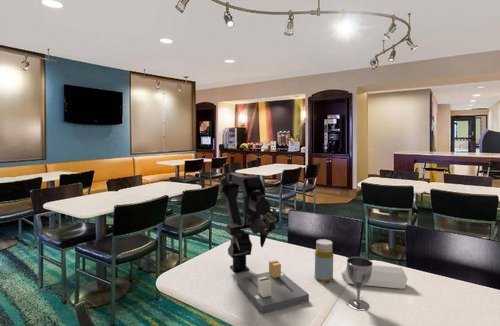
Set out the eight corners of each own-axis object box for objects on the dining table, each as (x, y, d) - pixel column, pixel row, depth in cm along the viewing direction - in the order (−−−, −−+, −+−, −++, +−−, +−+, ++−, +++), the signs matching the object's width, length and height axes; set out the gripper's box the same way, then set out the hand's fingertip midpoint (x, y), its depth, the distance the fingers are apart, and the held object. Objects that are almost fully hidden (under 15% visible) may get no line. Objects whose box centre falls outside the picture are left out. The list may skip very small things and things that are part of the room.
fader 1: (257, 291, 107) (257, 277, 107) (265, 290, 109) (265, 275, 108) (263, 297, 104) (263, 282, 103) (271, 295, 105) (271, 280, 104)
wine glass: (358, 313, 99) (360, 268, 98) (340, 301, 106) (342, 259, 105) (376, 307, 103) (377, 263, 101) (357, 296, 110) (359, 255, 109)
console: (237, 284, 118) (237, 278, 118) (278, 275, 126) (278, 269, 125) (261, 313, 99) (261, 305, 99) (308, 301, 107) (308, 293, 106)
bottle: (333, 283, 119) (334, 245, 118) (314, 281, 120) (315, 244, 119) (332, 275, 126) (333, 239, 124) (314, 273, 127) (315, 238, 126)
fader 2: (268, 273, 121) (269, 260, 121) (275, 272, 123) (275, 259, 122) (273, 278, 118) (273, 264, 117) (280, 276, 119) (280, 263, 118)
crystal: (403, 270, 122) (340, 264, 127) (408, 267, 116) (341, 262, 121) (405, 290, 119) (340, 284, 124) (410, 289, 113) (342, 282, 118)
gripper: (236, 216, 107) (236, 260, 109) (283, 211, 115) (282, 252, 117) (225, 209, 118) (225, 249, 119) (269, 204, 125) (268, 242, 127)
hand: (251, 248), depth 120 cm, fingers open, 9 cm apart
